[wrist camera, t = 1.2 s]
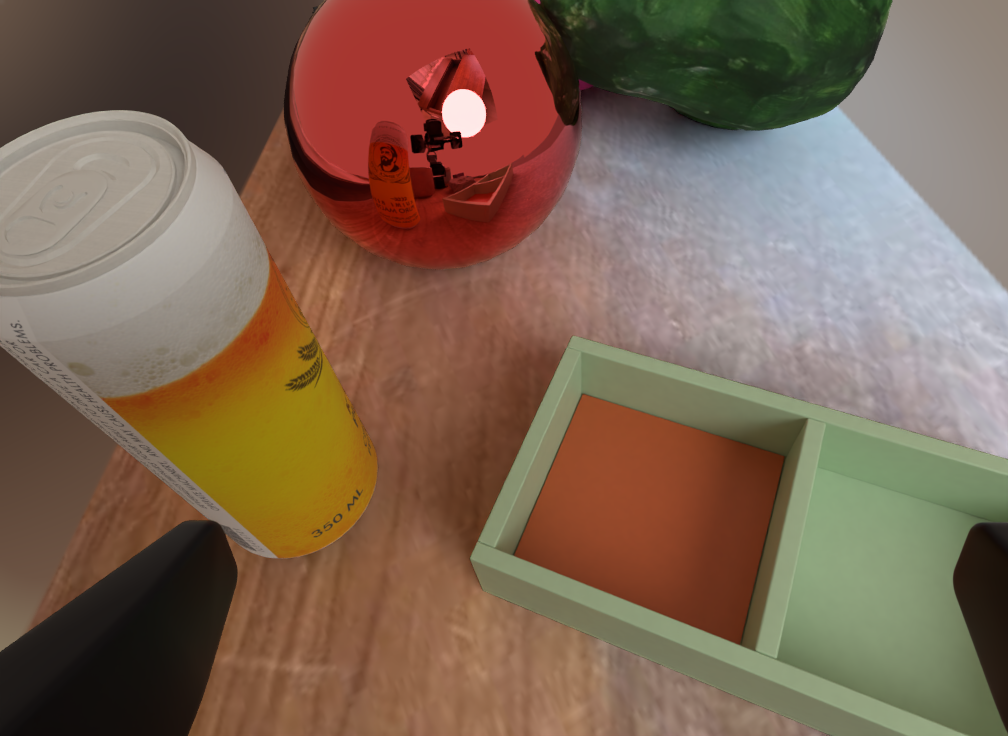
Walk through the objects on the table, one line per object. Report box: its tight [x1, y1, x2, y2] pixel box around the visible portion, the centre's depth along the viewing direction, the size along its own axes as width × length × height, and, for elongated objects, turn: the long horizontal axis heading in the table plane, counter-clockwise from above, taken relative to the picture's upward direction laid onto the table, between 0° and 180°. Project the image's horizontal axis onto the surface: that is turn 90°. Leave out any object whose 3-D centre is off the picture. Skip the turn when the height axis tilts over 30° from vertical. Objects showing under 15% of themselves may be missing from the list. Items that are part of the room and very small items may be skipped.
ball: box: [284, 0, 582, 270], centre depth 29 cm, size 12×12×12 cm
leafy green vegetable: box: [540, 0, 892, 130], centre depth 30 cm, size 14×9×15 cm
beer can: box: [0, 110, 378, 559], centre depth 20 cm, size 6×6×15 cm
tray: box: [470, 336, 1008, 736], centre depth 22 cm, size 9×17×3 cm, turn 67°
